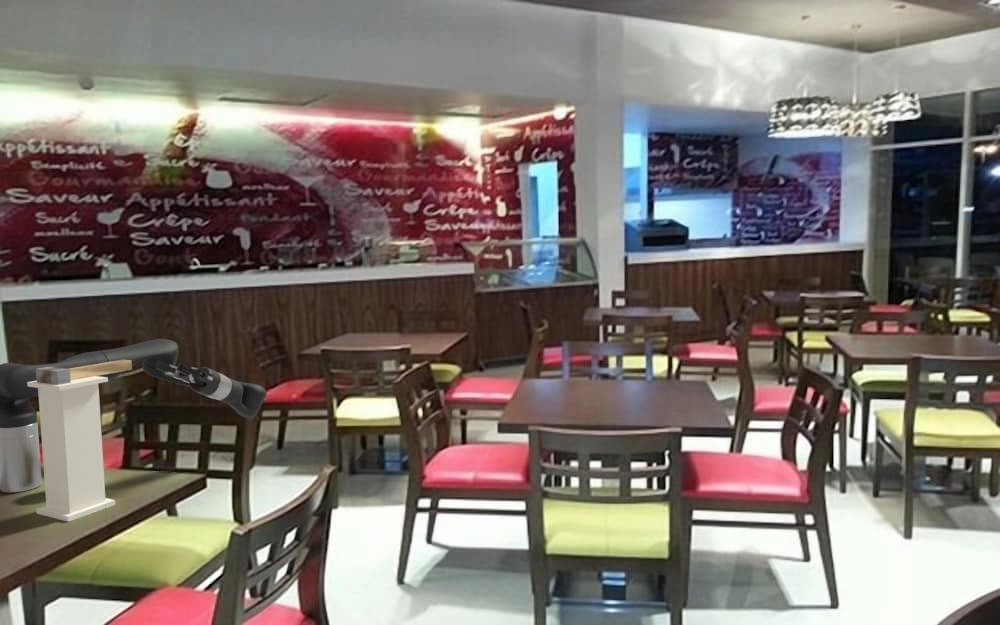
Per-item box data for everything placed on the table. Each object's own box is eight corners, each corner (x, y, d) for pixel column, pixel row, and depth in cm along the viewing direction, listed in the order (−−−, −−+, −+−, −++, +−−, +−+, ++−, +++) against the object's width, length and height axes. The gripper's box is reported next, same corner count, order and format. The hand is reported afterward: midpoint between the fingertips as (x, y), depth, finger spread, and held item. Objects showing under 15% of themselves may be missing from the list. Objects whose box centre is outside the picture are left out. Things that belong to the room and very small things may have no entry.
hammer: (36, 382, 171) (35, 368, 171) (117, 368, 190) (117, 355, 190) (58, 384, 168) (57, 371, 167) (138, 370, 186) (137, 357, 186)
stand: (36, 513, 174) (27, 382, 171) (84, 497, 185) (76, 373, 182) (68, 521, 169) (59, 386, 166) (115, 504, 180) (107, 377, 177)
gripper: (199, 369, 216) (155, 350, 203) (233, 373, 209) (190, 354, 196) (189, 393, 213) (145, 376, 200) (224, 398, 207) (180, 380, 194)
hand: (167, 365), depth 198 cm, fingers open, 8 cm apart
